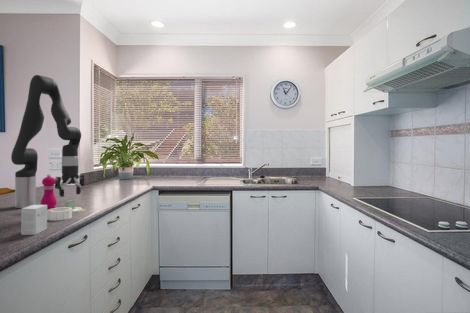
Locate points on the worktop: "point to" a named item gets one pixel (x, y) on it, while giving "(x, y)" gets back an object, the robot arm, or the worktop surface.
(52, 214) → the bowl
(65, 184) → the robot arm
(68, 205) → the lid
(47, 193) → the pepper mill
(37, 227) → the small box
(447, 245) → the worktop surface
